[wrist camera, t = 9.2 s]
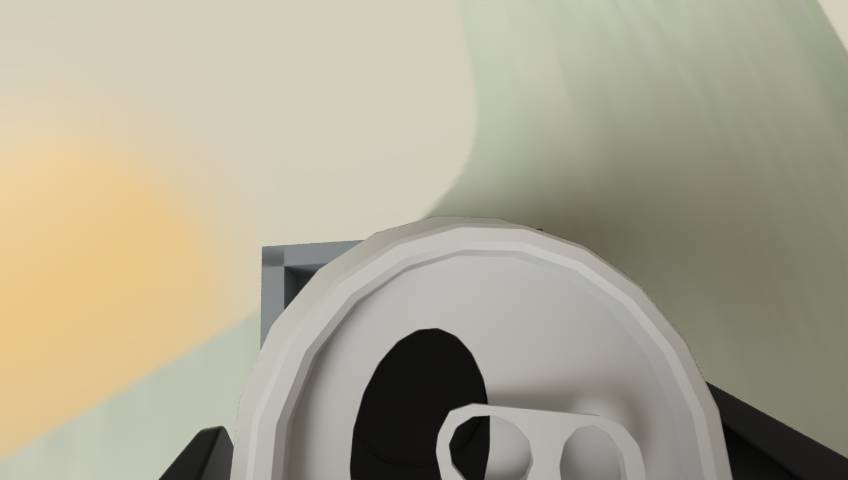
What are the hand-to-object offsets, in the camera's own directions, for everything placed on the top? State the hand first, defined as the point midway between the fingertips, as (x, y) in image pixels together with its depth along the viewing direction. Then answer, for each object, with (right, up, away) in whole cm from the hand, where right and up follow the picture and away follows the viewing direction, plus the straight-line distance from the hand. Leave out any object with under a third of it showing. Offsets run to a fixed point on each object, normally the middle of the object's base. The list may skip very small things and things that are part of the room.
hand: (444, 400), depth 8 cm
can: (-1, -3, +8) cm, 8 cm away
